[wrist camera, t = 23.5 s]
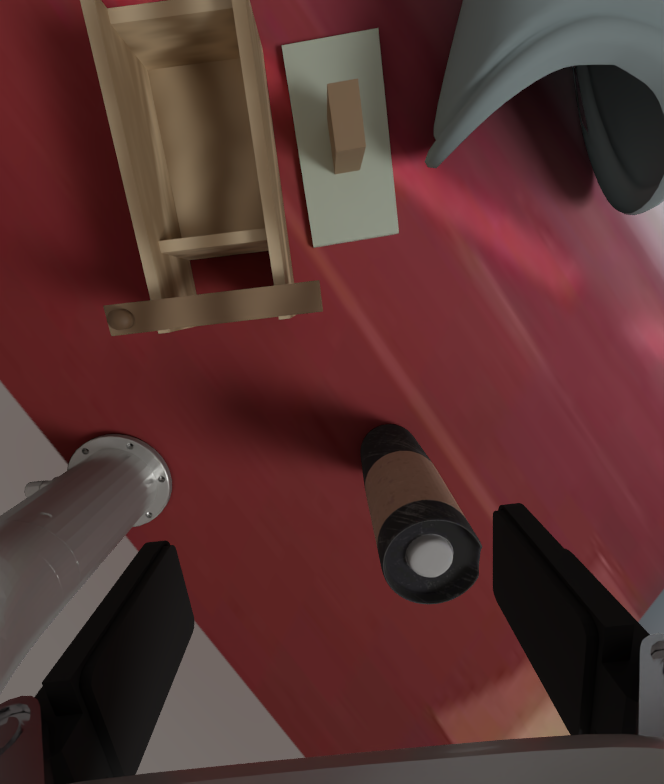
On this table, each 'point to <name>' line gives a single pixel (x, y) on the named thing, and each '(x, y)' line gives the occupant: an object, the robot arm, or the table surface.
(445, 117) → the grey hat
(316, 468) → the table surface
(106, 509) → the robot arm
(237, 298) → the wooden bar
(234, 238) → the toolbox
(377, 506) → the travel mug
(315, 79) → the lid
